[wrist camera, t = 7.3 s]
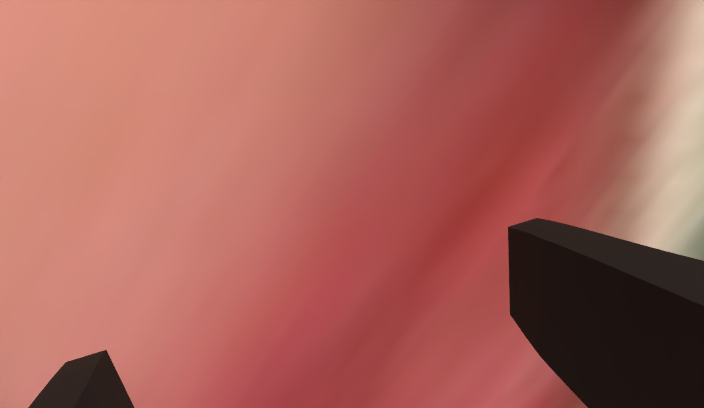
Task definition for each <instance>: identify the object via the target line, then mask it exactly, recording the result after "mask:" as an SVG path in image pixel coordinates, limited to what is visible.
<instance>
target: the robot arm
mask: <svg viewBox="0 0 704 408" xmlns="http://www.w3.org/2000/svg"><path fill="white" fill-rule="evenodd" d="M508 242H509V288H510V315H511V316H512V318H513V319H514V321H515V322H516V323H517V325H518V326H519V328H520V329H521V331H522V332H523V333H524V335H525V336H526V338H527V339H528V340H529V342H530V343H531V344H532V346H533V347H534V348H535V350H536V351H537V352H538V354H539V355H540V356H541V358H542V359H543V360H544V361H545V362H546V363H547V364H548V365H549V367H550V368H551V369H552V370H553V371H554V372H555V373H556V374H557V375H558V376H559V377H560V378H561V379H562V381H563V382H564V383H565V384H566V385H567V386H568V387H569V388H570V389H571V390H572V391H573V392H574V393H575V394H576V396H577V397H578V398H579V399H580V400H581V401H582V402H583V403H584V404H585V405H586V406H587V407H588V408H704V261H702V260H698V259H694V258H690V257H686V256H682V255H678V254H674V253H670V252H666V251H663V250H659V249H655V248H651V247H648V246H644V245H640V244H637V243H633V242H629V241H626V240H622V239H618V238H615V237H611V236H608V235H604V234H600V233H597V232H593V231H589V230H586V229H582V228H578V227H574V226H571V225H567V224H563V223H558V222H554V221H549V220H544V219H539V218H536V219H533V220H529V221H526V222H523V223H520V224H516V225H513V226H510V227H508ZM29 408H134V406H133V404H132V402H131V400H130V398H129V396H128V394H127V392H126V390H125V387H124V385H123V383H122V381H121V379H120V377H119V375H118V373H117V371H116V369H115V367H114V365H113V363H112V361H111V359H110V357H109V355H108V353H107V350H104V351H101V352H98V353H95V354H91V355H88V356H85V357H82V358H78V359H75V360H72V361H68V362H66V363H65V364H64V365H63V366H62V367H61V368H60V369H59V371H58V372H57V373H56V374H55V375H54V376H53V378H52V379H51V380H50V381H49V383H48V384H47V385H46V386H45V387H44V389H43V390H42V391H41V392H40V394H39V395H38V396H37V397H36V399H35V400H34V401H33V403H32V404H31V405H30V406H29Z"/></svg>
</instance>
